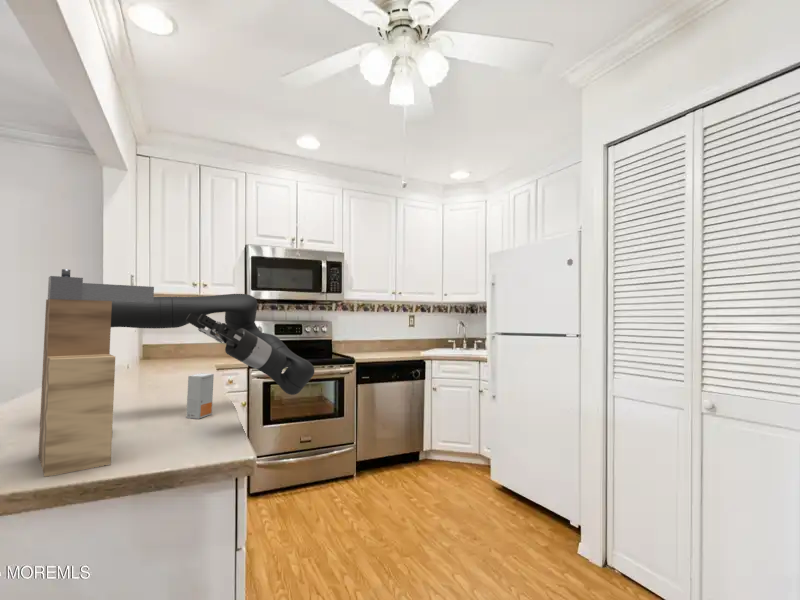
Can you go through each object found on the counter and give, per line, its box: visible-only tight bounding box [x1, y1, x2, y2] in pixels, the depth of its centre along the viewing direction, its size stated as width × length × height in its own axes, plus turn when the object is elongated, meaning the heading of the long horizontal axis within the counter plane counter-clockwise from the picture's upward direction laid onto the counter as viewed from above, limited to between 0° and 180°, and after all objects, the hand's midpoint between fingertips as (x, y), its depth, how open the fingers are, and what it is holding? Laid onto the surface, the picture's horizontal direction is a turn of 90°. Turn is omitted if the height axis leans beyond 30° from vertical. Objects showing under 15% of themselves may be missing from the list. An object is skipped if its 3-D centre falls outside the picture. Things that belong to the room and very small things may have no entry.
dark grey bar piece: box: [47, 268, 155, 303], centre depth 91 cm, size 5×18×6 cm, turn 133°
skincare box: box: [185, 372, 215, 420], centre depth 124 cm, size 6×4×12 cm
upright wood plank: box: [37, 298, 116, 478], centre depth 87 cm, size 15×10×32 cm, turn 43°
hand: (193, 317), depth 103 cm, fingers open, 8 cm apart
